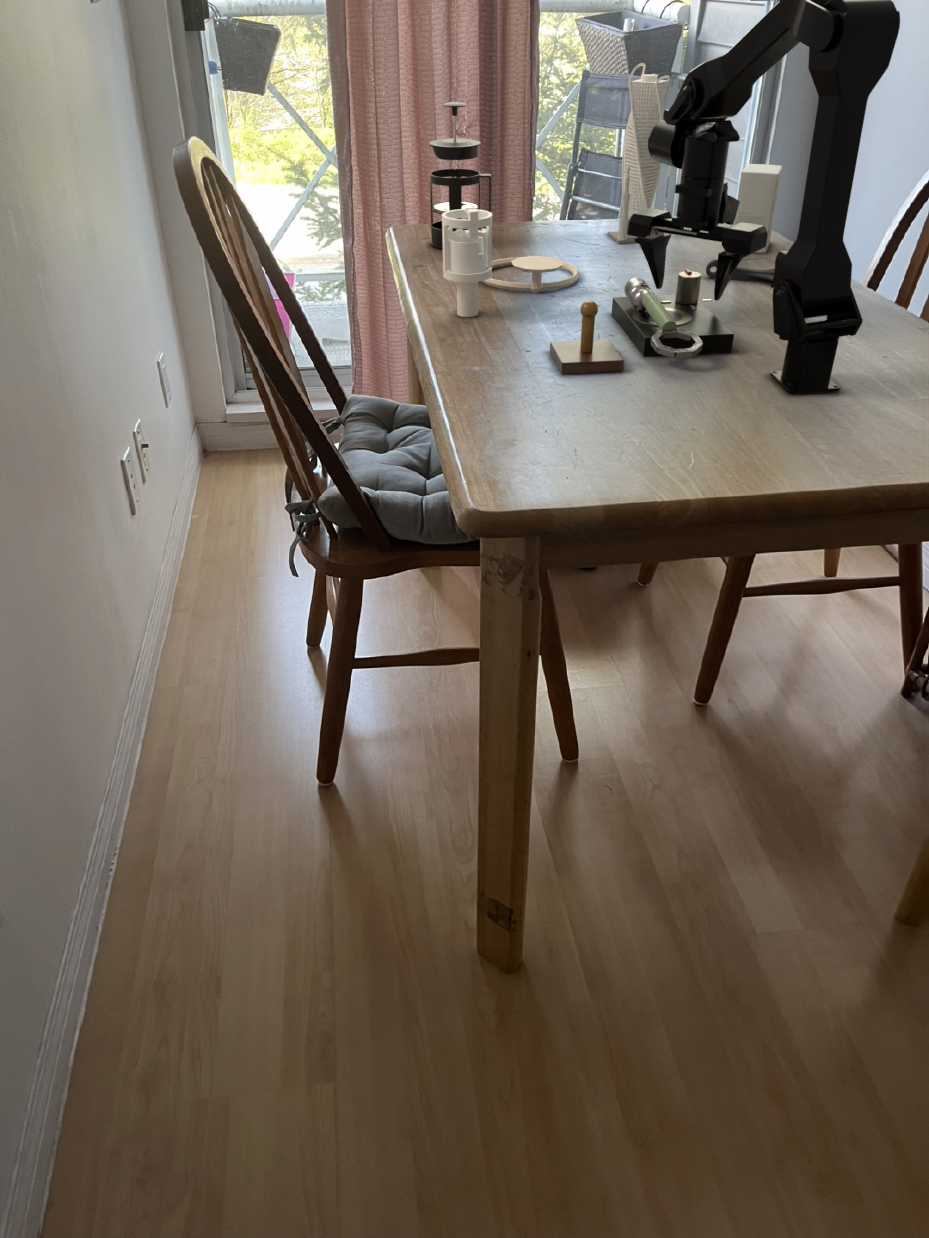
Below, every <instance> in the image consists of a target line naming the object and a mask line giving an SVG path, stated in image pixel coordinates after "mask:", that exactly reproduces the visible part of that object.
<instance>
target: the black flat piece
mask: <svg viewBox="0 0 929 1238" xmlns="http://www.w3.org/2000/svg"><path fill="white" fill-rule="evenodd" d="M717 261H718V259H712V260H711V261H709V262H708V263H707V265H706V267H705V273H706V276H707V277H708V278H710V279H716V270H715V271H711V269H712V268H716V269H717ZM774 273H775V267H774V268H769V269H753V268H748V267H747V268H746V267H741V266H737V267H736V269H735V271H734V272H733V274H732V276H731V278H730V280H739V281H762V282H772V281H773V278H774Z"/></svg>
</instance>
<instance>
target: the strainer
mask: <svg viewBox="0 0 929 1238" xmlns="http://www.w3.org/2000/svg"><path fill="white" fill-rule="evenodd" d="M457 218H462V219H457ZM441 221H442V238H443V250H442V277H443V279H445V280H447V281H450V282H454V283H456V298H457V299H456V304H457V305H456V310H457V311H456V314H457V316H459V317H463V318H473V317H476V316H478V315H479V282H482V281H484V280H487V279H489V278H492V277H493V268H492V261H493V259H492V256H493V255H492V254H493V253H492V252H493V250H492V249H493V213H492V211H491V212H489V210H485V209H480V210H479V208H478V209H475V208H474V207H466V208H465V209H457V210H451V211H447V212H444V213H443V214H441ZM448 226H449V227H448ZM482 227H486V228H482ZM452 228H458V229H456V231H455V232H453V229H452ZM478 228H480V230H478ZM463 229H468V230H463Z"/></svg>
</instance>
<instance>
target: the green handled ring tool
mask: <svg viewBox="0 0 929 1238" xmlns="http://www.w3.org/2000/svg"><path fill="white" fill-rule="evenodd" d="M623 290H624V291H623V292H624V294H625V297H627V298H628V300H629V301H630V303H631V304H632V305H633V307H634V308H635V309H636V310H638V311H648V313H649V314H650V316H651V317H652V318H653V320H654V321H655V323H656V324H657V326H658V327H659V328H660V330H659V331H658V332H656V333H655V334H654V335H653V336H652V337H651V346H652V347H653V349H654V350H655V352H658V354H661V355H663V356H664V357H668V358H670V359H676V360H678V359H690V358H693V357H696V356H697V355H699V354H698V353H699V352H700V351H701V350H702V346H703V342H702V340H701V339H700V338H699V336H698V335H697V334H695V333H693V332H689V331H686V330H683V329H677V325H676V323H675V322H674V320H673V319H672V317H671V316H670V315H669V313H668V312H667V311H666V309H665V308H664V307H663V305H662V304H661V303H660V301H659V300H658V299H657V297H656V296H657V295H656V294H655V292H654V291H653V290H652V289H651V287H650V285H648V284H647V282H646V281H645V280H644V279H643V278H642V277H631V278H629V280H627V282H626V283H625V286H624V289H623ZM666 338H680V339H683V340H686V341H690V342H691V344H692V345H693V346H692V347H691V348H684V349H674V348H671V347H668V346H664V345H663V344H662V343H661V341H662V340H663V339H666Z"/></svg>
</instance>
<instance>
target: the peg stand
mask: <svg viewBox="0 0 929 1238" xmlns="http://www.w3.org/2000/svg"><path fill="white" fill-rule="evenodd" d="M598 311H599V306H598V303H596V301H594V300H590V299H588V300H585V301H584V302H583V303H582V304H581V306H580V315H581V316H582V317H581V331H580V332H581V333H580V340H565V341H564V340H563V341H550V342H549V343H550V344H549V354H550V356H551V358H552V359H553V361H554V363H555V365H556V367H557V369H558V371H559V372H560V375H574V374H575V375H577V374H597V373H617V372H624V366H625V365H624V364H625V359H624V358H623V356H622V355H621V354H620V352H619V351H618V350H617V348H616V347H615V345H614V344H613V343H612V340H610V339H594V337H595V336H594V335H595V324H596V323H595V322H596V316H597V314H598V313H599V312H598Z"/></svg>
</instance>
